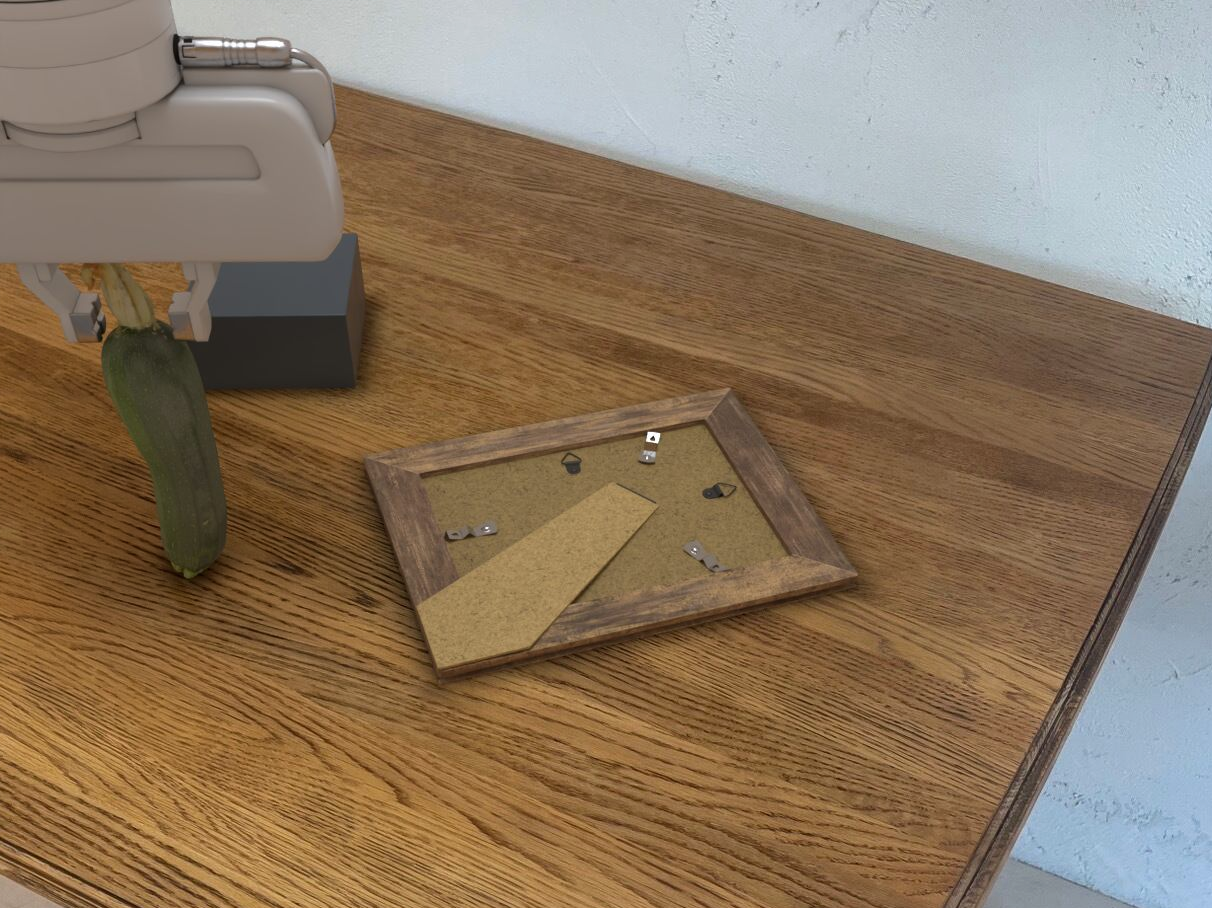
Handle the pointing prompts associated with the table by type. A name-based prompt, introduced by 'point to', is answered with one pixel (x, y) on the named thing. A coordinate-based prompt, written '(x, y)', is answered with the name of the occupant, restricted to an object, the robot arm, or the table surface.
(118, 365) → the vegetable
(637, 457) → the picture frame
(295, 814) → the table surface
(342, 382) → the block
